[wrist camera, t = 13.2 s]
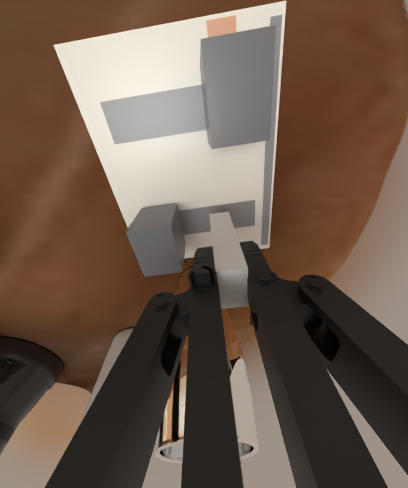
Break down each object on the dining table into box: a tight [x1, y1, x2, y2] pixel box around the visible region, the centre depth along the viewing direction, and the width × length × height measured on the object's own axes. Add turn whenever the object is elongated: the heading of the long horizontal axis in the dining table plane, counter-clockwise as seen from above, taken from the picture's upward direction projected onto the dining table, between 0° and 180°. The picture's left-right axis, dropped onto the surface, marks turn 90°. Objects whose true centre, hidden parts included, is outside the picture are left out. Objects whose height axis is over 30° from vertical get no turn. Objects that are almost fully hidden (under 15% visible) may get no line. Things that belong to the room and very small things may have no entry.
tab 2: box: [200, 25, 276, 149], centre depth 10 cm, size 3×4×4 cm
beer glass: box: [154, 267, 259, 463], centre depth 18 cm, size 7×7×15 cm
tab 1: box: [126, 203, 186, 277], centre depth 15 cm, size 3×4×4 cm
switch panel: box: [54, 1, 286, 259], centre depth 15 cm, size 13×16×3 cm
